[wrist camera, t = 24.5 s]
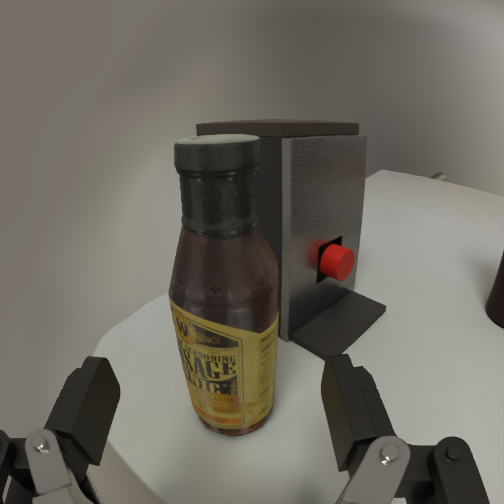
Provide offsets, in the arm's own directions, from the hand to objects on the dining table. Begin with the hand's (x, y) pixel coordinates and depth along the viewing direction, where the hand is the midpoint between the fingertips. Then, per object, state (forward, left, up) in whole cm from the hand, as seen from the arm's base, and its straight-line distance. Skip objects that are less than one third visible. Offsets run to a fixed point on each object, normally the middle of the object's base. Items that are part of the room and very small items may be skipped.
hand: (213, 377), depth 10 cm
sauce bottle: (+1, +7, -13) cm, 15 cm away
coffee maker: (+9, +21, -12) cm, 26 cm away
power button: (+12, +17, -7) cm, 22 cm away
